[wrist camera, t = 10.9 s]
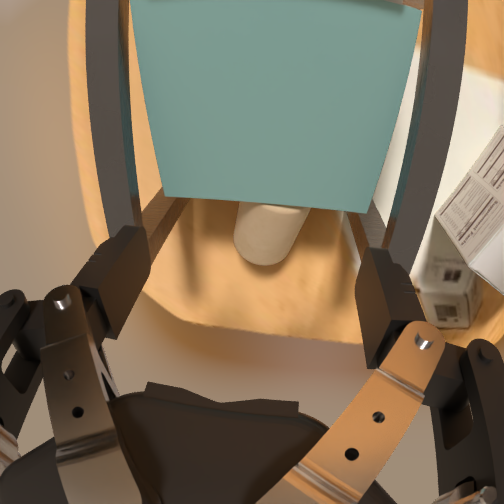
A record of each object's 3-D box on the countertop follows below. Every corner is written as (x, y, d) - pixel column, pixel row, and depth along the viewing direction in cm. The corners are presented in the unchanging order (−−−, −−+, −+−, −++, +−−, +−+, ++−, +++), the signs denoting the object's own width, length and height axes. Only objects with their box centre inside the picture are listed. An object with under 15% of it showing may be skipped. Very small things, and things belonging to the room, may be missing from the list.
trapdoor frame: (170, -17, 20) (90, -51, 9) (393, -3, 18) (467, -32, 8) (173, 192, 32) (118, 274, 21) (364, 209, 30) (398, 301, 20)
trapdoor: (138, -61, 9) (117, -61, 8) (418, -47, 8) (436, -47, 7) (171, 181, 23) (161, 204, 22) (363, 198, 22) (368, 222, 21)
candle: (306, 224, 22) (275, 281, 30) (326, 171, 24) (294, 236, 33) (231, 192, 22) (222, 257, 31) (261, 144, 25) (245, 214, 33)
